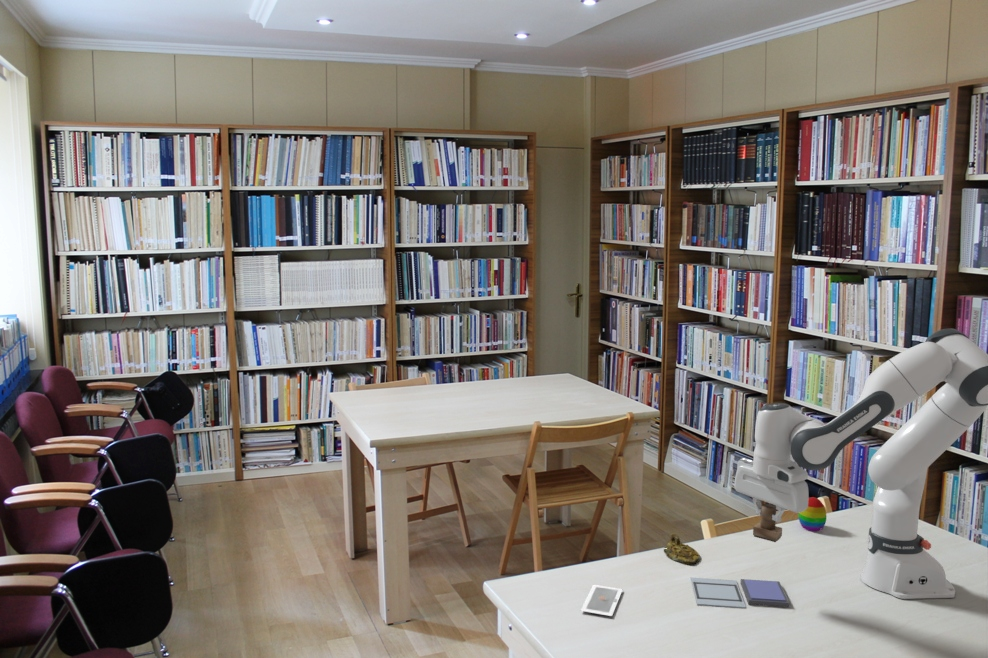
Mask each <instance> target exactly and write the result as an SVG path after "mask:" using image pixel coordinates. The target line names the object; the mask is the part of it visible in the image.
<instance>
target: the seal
mask: <svg viewBox="0 0 988 658" xmlns="http://www.w3.org/2000/svg"><path fill="white" fill-rule="evenodd" d="M669 539H670V540H669V542H668V543H667V544H666V545H665V546H664V548H667V549H664V548H663V552H664V554H665V555H666V557H667V558H669V559H670V560H671V561H673V562H677V563H679V564H683V565H687V566H693V565H695V564H696V563H699V561H700V559H701V556H700V553H699V552H698V551H696V549H695V548H693V547H691V546H689V545H688V544H684V543H682V542H681V539H680V536H679V535H677V534H676V533H671V534H670V538H669Z"/></svg>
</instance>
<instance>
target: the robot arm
mask: <svg viewBox="0 0 988 658" xmlns="http://www.w3.org/2000/svg"><path fill="white" fill-rule="evenodd" d="M942 382H945V384H943V385H942V386H941V387H940V388H939V389H937V391H936V392H935V393H933V395H932V396H930V398H928V400H926V402H925V403H924V404H923V405H922V406H921V407H920V408H919V409H917V410H916V412H915V413H914V414H913V415H912V417H910V418H909V419H908V420H907V421H906V422H905V423H904V424H902V426H901V427H900V428H899V429H898V430H897V431H896V432H894V434H892V435H891V436H890V438H889V439H887V441H885V442H884V444H882V445H881V446H880V447H879V448H878V449H877V451H876V452H874V453H873V455H872V456H871V458H870V461H869V464H868V469H867V470H868V476H869V478H870V480H871V481H872V483H873V484H874V485H876V486H877V489H876V492H875V495H874V497H873V501H872V513H871V524H870V525H871V526H870V527H869V530H868V535H867V549H868V551H867V556H866V560H865V564H864V566H863V570H862V572H861V574H860V581H862V583H864V584H865V585H867V586H869V587H870V588H873V590H874V589H875V590H877V591H879V592H883V593H886V594H888V595H891V596H893V597H896V598H898V599H902V600H907V599H909V600H913V599H915V600H916V599H948V598H955V597H956V590H955V587H954V585H953V584H952V583H951V582H950V581H949V580H948V579H947V578H946V577H947V575H946V572H945V568H944V567H943V566H942V564H941V563H940V562H939V561H938V560H937V559H936V558H935V557H933V555H931V554H930V553H929V552H928V551H927V550H931V549H932V544H931V542H929V541H928V540H927V539H925V538H924V537H923V536H921V535H920V534H918V529H919V517H920V508H921V503H922V500H923V499H922V498H923V493H924V489H925V485H926V479H927V473H928V468H929V467H930V466H931V465H932V464H933V463H934V462H935V461H936V460H937V459H939V457H941V455H942V454H944V452H946V451H947V450H948V449H949V448H950V447H951V446H952V445H953V444H954V443H955V442H956V441H957V440H958V439H959V438H960V437H961V436H962V435H963V434H964V433H965V432H966V431H967V430H968V429H969V428H970V427H971V426H973V424H974V423H975V422H976V421H977V420H978V419H979V418H980V417H981V415H982V414H983V412H985V411H986V409H987V408H988V353H987V352H986V351H985V350H984V349H982V348H980V347H979V345H977V344H976V343H975V342H973V341H972V340H971V339H969V338H968V336H967V335H966V334H964V333H963V332H962V331H960V330H957V329H956V328H943V329H939V330H936V331H935V332H933V333H932V334H930V335H929V336H928V337H927V339H926V340H924V342H921V343H918V344H916V345H913V346H912V347H909V348H907V349H905V350H903V351H901V352H899V353H898V354H896V355H894V356H893V357H891V358H889V359H888V360H886V361H885V362H883V363H882V364H880V365H879V366H878V367H876V368H875V370H873V371H872V372H871V373H870V374H869V375H868V376H867V377H866V379H865V381H864V385H863V388H862V392H861V394H860V396H859V398H857V401H856V402H855V403H854V404H853V405H852V406H850V407H849V408H848V409H845V410H844V412H842V413H840V414H839V415H837V416H836V417H834V418H833V419H832V420H831V421H829V422H827V423H826V424H825V423H824V422H823V420H821V419H819V418H815V417H811V416H808V415H806V414H804V413H802V412H800V411H798V410H796V409H794V408H793V407H792V406H791V405H790V404H788V403H785V402H784V403H783V402H774V403H773V402H771V403H768V404H766V405H765V404H764V405H763V406H761V408H759V410H758V412H757V414H756V420H755V428H754V429H755V430H754V440H755V447H754V450H753V460H752V459H749V458H747V457H742V458H740V459H738V461H737V463H736V465H737V467H736V472H735V476H734V477H735V478H734V485H733V487H734V490H735V492H737V493H740V494H743V495H745V496H748V497H751V498H752V503H753V505H754V507H755V514H756V516H760V517H761V507H762V505H763V504H762V502H765V503H766V504H772V505H775V506H776V513H775V514H772V520H773V521H775V522H776V523H780V522H781V521H782V516H783V514H784V513H785V512H786V510H788V511H790V512H792V513H795V514H799V513H800V512H803V511H805V510H806V509H807V508H808V499H809V498H810V497H809V486H808V483H807V482H806V481H805V480H807V479H808V477H809V474H808V471H814V472H815V471H816V472H817V471H821V470H824V469H826V468H828V467H829V466H831V465H832V464H833V463H834V461H835V460H836V459H837V457H838V455H839V453H840V452H841V451H842V450H843V449H844V448H845V447H846V446H847V445H850V443H852V442H854V440H856V439H857V438H859V437H860V436H862V435H863V434H864V433H866V432H868V431H869V430H871V428H873V427H875V426H876V425H877V424H878V423H880V422H881V421H882V420H884V419H886V418H887V417H889V416H891V415H892V414H894V413H896V412H897V411H899V410H901V409H903V408H904V407H906V406H907V405H910V404H912V403H913V402H915V401H917V400H918V399H919V398H921V397H922V396H924V395H926V394H927V393H929V391H931V390H933V389H934V388H935V387H936V386H938V385H939V384H940V383H942ZM791 458H792V459H793V460H792V459H791ZM807 470H808V471H807Z"/></svg>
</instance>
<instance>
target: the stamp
mask: <svg viewBox="0 0 988 658" xmlns="http://www.w3.org/2000/svg"><path fill="white" fill-rule="evenodd" d="M775 513H777V509H776V505H773V504H770V503H763V504H762V507H761V516H760V521H758V522H757V523H756V524H755V525H754V526H753V529H752V535H753V537H755V538H758V539H761V540H764V541H769V542H773V543H777V542H778V541H779V540H781V537H782V535H783V527H781V526H777V525H776V523H777V522H775V521H773V520H772V514H775Z"/></svg>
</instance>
